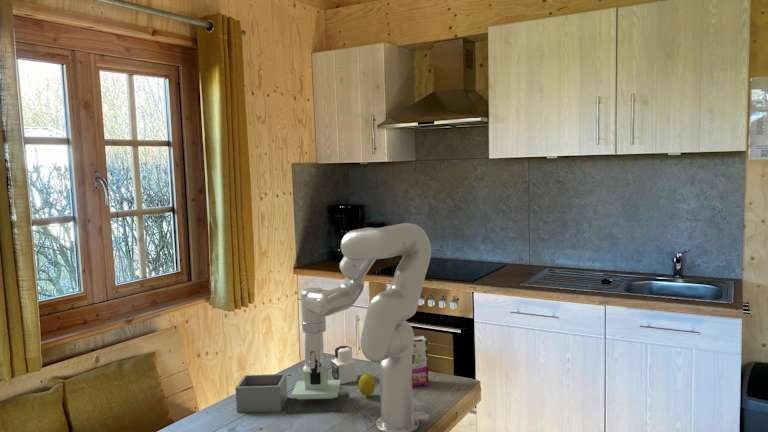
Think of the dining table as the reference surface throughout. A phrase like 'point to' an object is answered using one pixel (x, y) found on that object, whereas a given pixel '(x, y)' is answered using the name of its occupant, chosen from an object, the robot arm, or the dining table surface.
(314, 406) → the mat
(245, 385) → the storage box
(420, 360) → the candy bar box
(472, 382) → the dining table surface
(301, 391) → the lid
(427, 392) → the dining table surface
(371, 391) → the lemon
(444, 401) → the dining table surface
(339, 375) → the medicine bottle
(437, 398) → the dining table surface
